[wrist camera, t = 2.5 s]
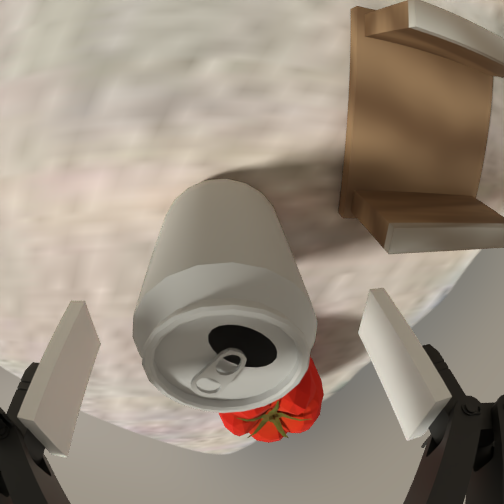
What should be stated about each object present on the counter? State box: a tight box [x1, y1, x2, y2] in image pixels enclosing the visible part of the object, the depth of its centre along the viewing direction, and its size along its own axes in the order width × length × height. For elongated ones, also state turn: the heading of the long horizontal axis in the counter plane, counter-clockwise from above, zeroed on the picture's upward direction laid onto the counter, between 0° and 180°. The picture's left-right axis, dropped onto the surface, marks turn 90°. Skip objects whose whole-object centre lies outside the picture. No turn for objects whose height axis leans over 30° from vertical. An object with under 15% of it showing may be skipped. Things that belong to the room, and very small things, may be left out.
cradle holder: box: [338, 0, 504, 254], centre depth 16 cm, size 14×12×7 cm
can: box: [133, 179, 317, 413], centre depth 16 cm, size 8×8×12 cm
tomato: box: [219, 357, 324, 443], centre depth 25 cm, size 9×9×8 cm
